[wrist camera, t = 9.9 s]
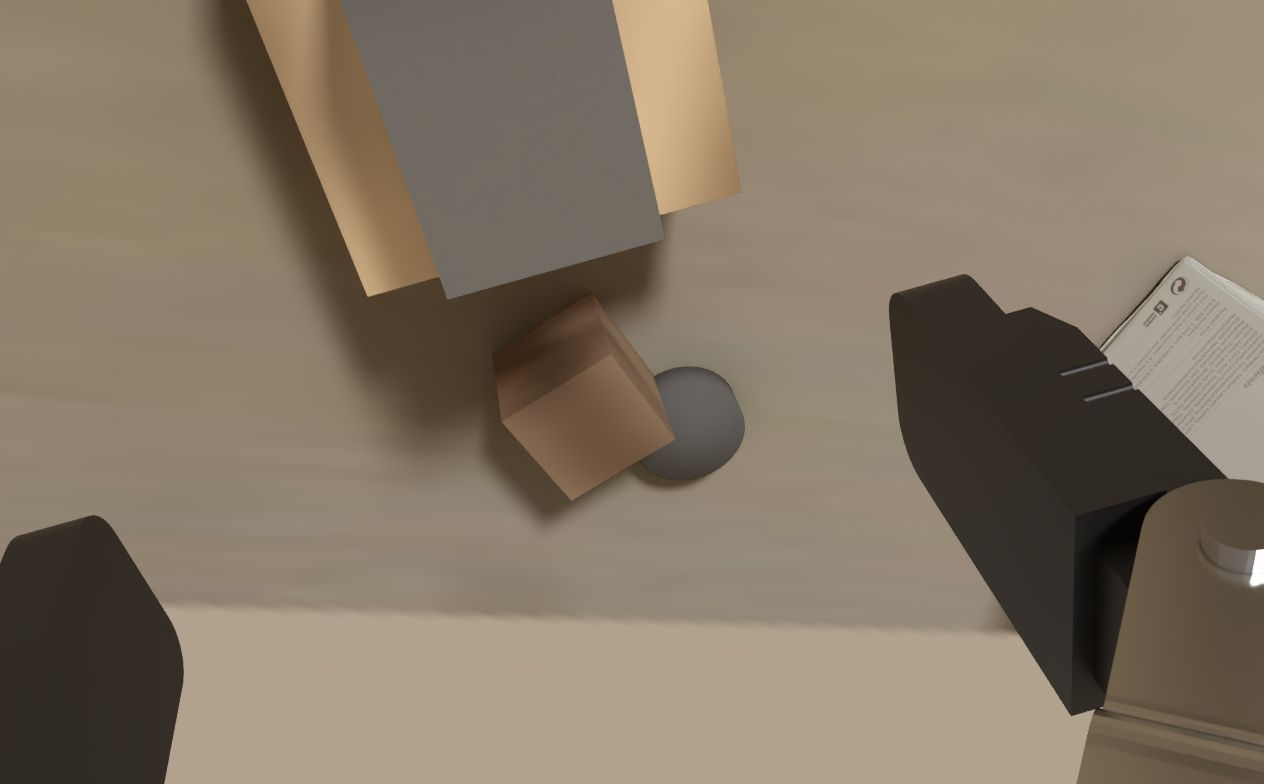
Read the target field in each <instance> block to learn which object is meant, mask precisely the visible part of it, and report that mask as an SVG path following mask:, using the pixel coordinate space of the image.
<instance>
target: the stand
mask: <svg viewBox="0 0 1264 784" xmlns="http://www.w3.org/2000/svg"><path fill="white" fill-rule="evenodd" d="M246 1H247V3H248V6H249V8H250V11H251V13H252V15H253V18H254V20H255V23H256V25H257V28H258V30H259V33H260V35H261V37H262V40H263V42H264V45H265V47H266V50H267V52H268V55H269V57H270V59H271V62H272V64H273V67H274V69H275V72H276V74H277V77H278V79H279V81H280V84H281V86H282V89H283V91H284V94H285V96H286V99H287V101H288V103H289V106H290V108H291V111H292V113H293V116H294V118H295V121H296V123H297V125H298V128H299V130H300V133H301V135H302V138H303V140H304V143H305V145H306V147H307V150H308V152H309V155H310V157H311V160H312V162H313V165H314V167H315V169H316V172H317V174H318V177H319V179H320V182H321V184H322V187H323V189H324V191H325V194H326V196H327V199H328V201H329V204H330V206H331V209H332V211H333V213H334V216H335V218H336V221H337V223H338V226H339V228H340V231H341V233H342V235H343V238H344V240H345V243H346V245H347V248H348V250H349V253H350V255H351V257H352V260H353V262H354V265H355V267H356V270H357V272H358V275H359V277H360V279H361V282H362V284H363V287H364V289H365V292H366V294H367V297H369V296H373V295H376V294H380V293H383V292H387V291H390V290H394V289H398V288H401V287H405V286H408V285H412V284H415V283H419V282H423V281H426V280H430V279H433V278H437V277H439V275H438V272H437V269H436V266H435V264H434V261H433V258H432V255H431V252H430V250H429V247H428V244H427V241H426V238H425V236H424V233H423V230H422V227H421V225H420V222H419V219H418V216H417V213H416V211H415V208H414V205H413V202H412V199H411V197H410V194H409V191H408V188H407V186H406V183H405V180H404V177H403V174H402V172H401V169H400V166H399V163H398V160H397V158H396V155H395V152H394V149H393V146H392V144H391V141H390V138H389V135H388V133H387V130H386V127H385V124H384V121H383V119H382V116H381V113H380V110H379V107H378V105H377V102H376V99H375V96H374V93H373V91H372V88H371V85H370V82H369V80H368V77H367V74H366V71H365V68H364V66H363V63H362V60H361V57H360V54H359V52H358V49H357V46H356V43H355V41H354V38H353V35H352V32H351V29H350V27H349V24H348V21H347V18H346V15H345V13H344V10H343V7H342V4H341V1H340V0H246ZM612 2H613V6H614V11H615V15H616V20H617V24H618V29H619V33H620V38H621V42H622V47H623V51H624V56H625V60H626V65H627V69H628V74H629V78H630V83H631V87H632V92H633V96H634V101H635V105H636V110H637V114H638V119H639V123H640V128H641V132H642V137H643V141H644V146H645V150H646V155H647V159H648V164H649V168H650V173H651V178H652V182H653V187H654V191H655V196H656V200H657V205H658V209H659V214H660V215H662V214H666V213H669V212H673V211H676V210H680V209H684V208H687V207H691V206H694V205H698V204H701V203H705V202H709V201H712V200H716V199H719V198H723V197H726V196H730V195H734V194H737V193H741V187H740V181H739V176H738V170H737V164H736V159H735V153H734V147H733V142H732V136H731V131H730V125H729V119H728V114H727V108H726V102H725V97H724V91H723V85H722V80H721V74H720V68H719V63H718V57H717V51H716V46H715V40H714V34H713V29H712V23H711V17H710V12H709V6H708V1H707V0H612Z"/></svg>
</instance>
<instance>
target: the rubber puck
mask: <svg viewBox="0 0 1264 784" xmlns="http://www.w3.org/2000/svg"><path fill="white" fill-rule="evenodd" d="M654 379H655V382H656V385H657V388H658V391H659V394H660V396H661V399H662V402H663V405H664V408H665V411H666V414H667V417H668V419H669V422H670V425H671V428H672V431H673V434H674V437H675V440H673V441H671V442H670V443H668V444H666V445H665V446H663V447H661V448H660V449H658V450H656V451H655V452H653V453H651V454H650V455H648V456H646V457H644V458H643V459H641V460H639V461H640V463H641V464H642V465H643V466H644V467H645V468H646V469H647V470H649V471H650V472H652V473H653V474H655V475H657V476H660V477H663V478H667V479H672V480H689V479H695V478H699V477H702V476H705V475H707V474H710V473H712V472H714V471H716V470H717V469H719V468H720V467H722V466H723V465H724V464H726V463H727V462H728V461H729V460H730V459H731V458H732V457H733V456H734V454H735V453H736V452H737V450H738V448H739V446H740V445H741V442H742V440H743V436H744V430H745V423H744V417H743V414H742V412H741V409H740V407H739V405H738V402H737V400H736V398H735V396H734V393H733V391H732V389H731V387H730V386H729V384H728V383H727V382H726V381H725V380H724V379H723V378H722V377H721V376H719V375H718V374H716V373H714V372H712V371H710V370H707V369H704V368H699V367H679V368H674V369H670V370H667V371H664V372H662V373H660V374H658V375H656V376H654Z"/></svg>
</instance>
